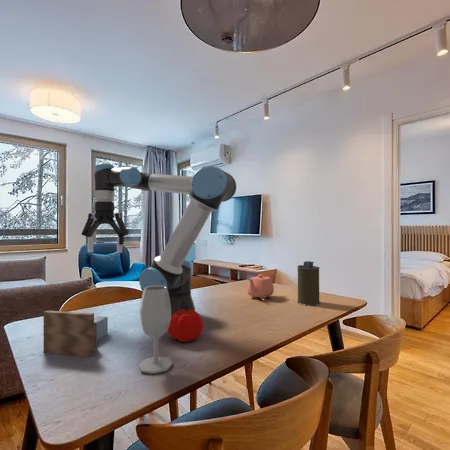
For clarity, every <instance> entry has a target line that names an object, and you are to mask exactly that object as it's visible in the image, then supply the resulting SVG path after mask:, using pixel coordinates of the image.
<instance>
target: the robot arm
mask: <svg viewBox="0 0 450 450" xmlns="http://www.w3.org/2000/svg"><path fill="white" fill-rule="evenodd" d="M93 175H94V201H95V202H94V211H95V213H92V212H89V213H88V215H87V220H86V222H85V225H84V227H83V230H82V232H81V236H84V237H85V244H86V245H87V254H88V253H94V236H93V234H94V233H95V232H96V231H97V229H98V228H99V226H100V225H109V226H111V228H112V229H113V230H114V232H115V234H117V237H116V254H121V253H123V245H124V244H125V242H124V241H125V236H129V231H128V230H127V227H126V225H125V223H124V221H123V219H122V213H121V212H115V202H114V201H115V188H116V187H117V188H119V187H124V188H125V187H126V188H131V189H137V190H141V191H144V192H145V191H146V192H151V191H152V192H163V193H173V194H181V195H182V194H183V195H188V196H189V199H190V201H189V203H188V205H187V206H186V208H185V209H184V213H183V214H182V216H181V218H180V219H179V221H178V224H177V225H176V227H175V229H174V231H173V232H172V234H171V236H170V238H169V240H168V242H167V244H166V245H165V247H164V249H163V251H162V253H161V254H160V255H157V256H155V258H154V259H153V261H152V263H151V265H150V266H149V267H145V269H144V270H142V272H141V273H140V275H139V279H138V282H139V286H140V290H141V292H142V293H143V291H144V288H145V287H148V286H156V285H159V286H166V287H167V290H168V293H169V298H170V304H171V316H172V315H173V314H174V313H175V312H176V311H178V310H181V309H184V310H187V311H188V310H189V309H193V310H194V311H195V312H196V307H195V303H194V299H193V297H192V266H191V265H192V263H191V261H190V260H186V258H187V256H188V254H189V252H190V251H191V249H192V247H193V245H195V242H196V240H197V238H198V236H199V234H200V233H201V231H202V229H203V228H204V225H205V224H206V222H207V221H208V219H209V217H210V215H211V213H212V212H216V211H218V209H219V208H220V205H221V204H222V203H224V202H227V201H229V200H231V199H232V198H233V197H234V196H235V194H236V192H237V182H236V179H235V178H234V176H232V175H231V174H230V173H228V172H227V171H224V170H223V169H222V168H219V167H217V166H213V165H205V166H202V167H200V168H198V169H197V170H196V171H195V173H194V174H193V175H192V176H191V175H178V174H177V175H175V174H161V173H148V172H141V171H140V170H139V169H138V168H137V167H135V166H125V167H115V166H114V165H113V164H111V163H107V162H106V163H101V162H100V163H97V164H95V166H94V174H93ZM115 220H116V221H115Z"/></svg>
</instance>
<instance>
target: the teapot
mask: <svg viewBox="0 0 450 450" xmlns="http://www.w3.org/2000/svg"><path fill="white" fill-rule="evenodd" d="M274 289H275V288H274V283H273V281H272V278H271V277H270V276H265V275H264V274H261V273H258V274H257V276H252V277H250V278H248V285H247V290H246V291H247V294H248V296H250V298H251V297H255V298H259V299H265V298H267V297H271V296H272V295H273V294H274V292H275V291H274ZM265 300H266V299H265Z"/></svg>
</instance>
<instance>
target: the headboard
mask: <svg viewBox="0 0 450 450" xmlns="http://www.w3.org/2000/svg"><path fill="white" fill-rule="evenodd" d="M42 314H43V353H46V354H47V353H49V354H56V355H57V354H58V355H67V356H68V355H69V356H78V357H87V358H90V357H93V356H94V355H95V350H96V349H97V347H98V346H97V345H98V343H97V342H98V340H97V322H94V318H95V313H92V312H91V313H90V312H79V311H78V312H76V311H75V312H74V311H59V310H46V311H43V313H42Z"/></svg>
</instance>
